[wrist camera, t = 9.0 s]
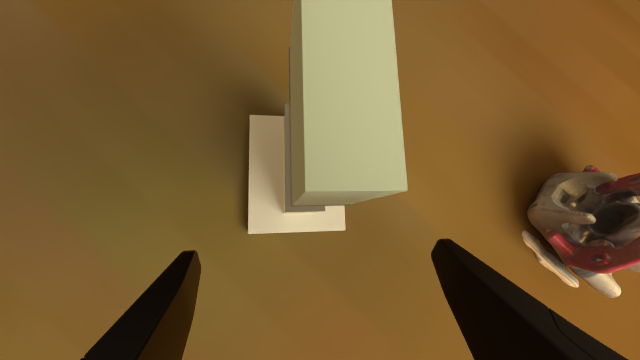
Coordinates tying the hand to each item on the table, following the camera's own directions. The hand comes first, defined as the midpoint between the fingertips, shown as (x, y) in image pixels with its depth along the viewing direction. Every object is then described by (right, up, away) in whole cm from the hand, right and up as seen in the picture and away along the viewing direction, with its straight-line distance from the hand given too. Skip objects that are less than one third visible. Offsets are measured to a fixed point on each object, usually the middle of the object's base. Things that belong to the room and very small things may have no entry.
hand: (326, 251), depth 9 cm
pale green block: (0, +5, +2) cm, 5 cm away
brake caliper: (+25, -2, +18) cm, 31 cm away
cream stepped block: (-2, +3, +13) cm, 14 cm away
